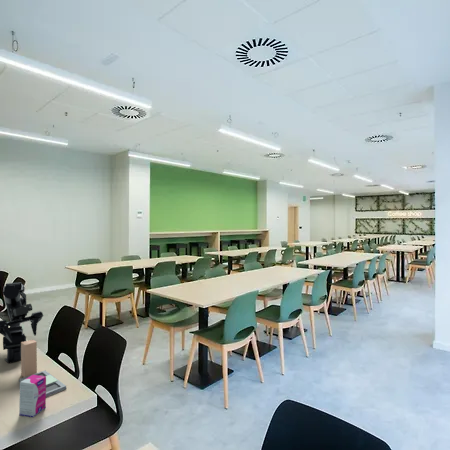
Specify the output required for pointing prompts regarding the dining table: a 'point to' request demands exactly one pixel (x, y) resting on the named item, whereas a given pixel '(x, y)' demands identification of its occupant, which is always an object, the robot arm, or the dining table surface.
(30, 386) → the supplement box
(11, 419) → the dining table surface
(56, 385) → the tray
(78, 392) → the dining table surface
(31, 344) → the tan tall block
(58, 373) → the dining table surface
